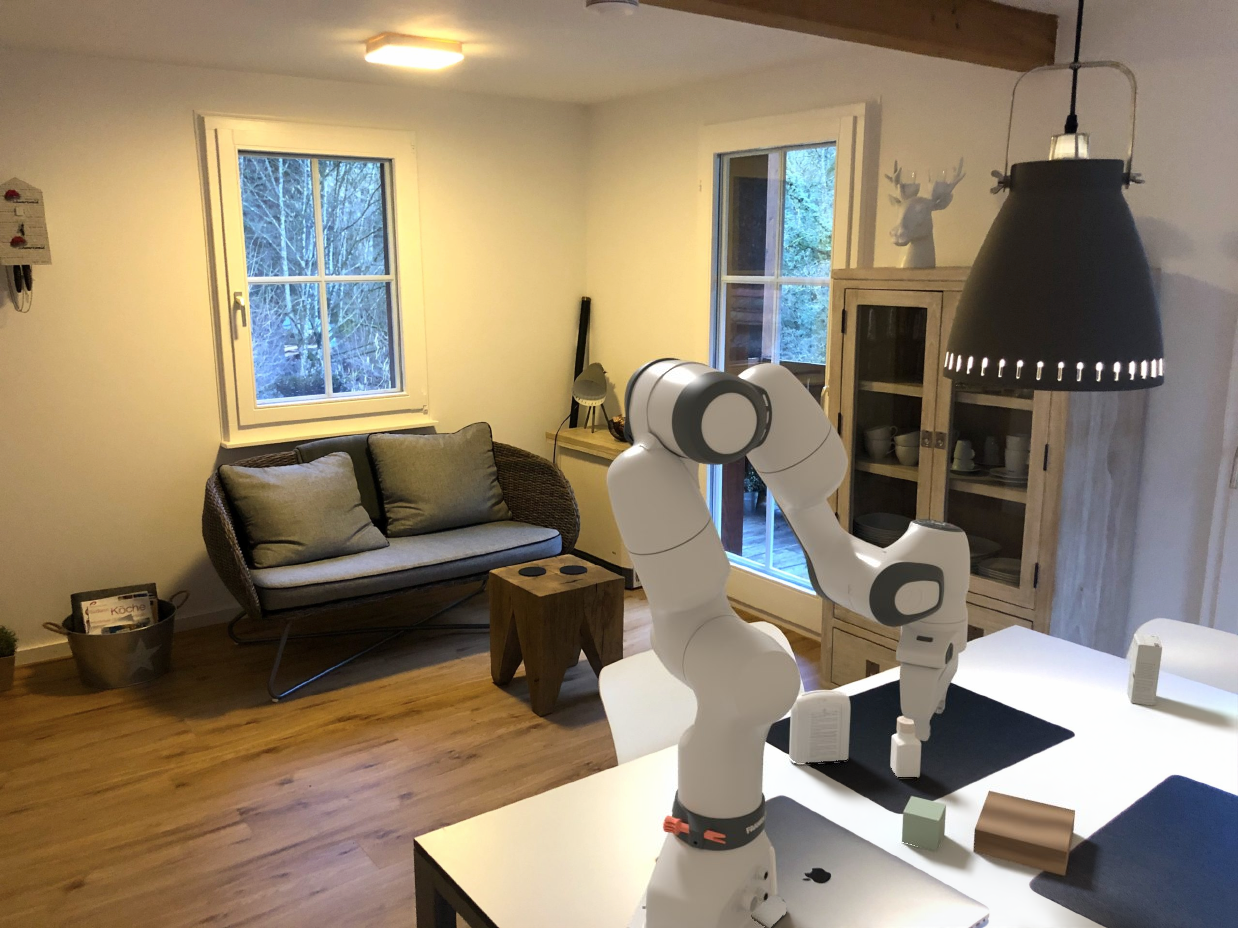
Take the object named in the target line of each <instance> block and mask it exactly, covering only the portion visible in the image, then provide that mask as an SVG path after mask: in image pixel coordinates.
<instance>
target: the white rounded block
mask: <svg viewBox="0 0 1238 928" xmlns="http://www.w3.org/2000/svg"><path fill="white" fill-rule="evenodd" d="M789 721H790V723H789V724H790V725H789V749H788V750H789V755H788V756H789V757H790V758H791V759H792V760H793V761H795V762H796V763H806V762H808V763H809V762H821V761H822V762H823V761H836V760H837V761H838V760H847V759H848V760H849V750H850V748H849V747H850V745H849V744H850V726H851V724H850V723H851V700H850V697H849V696H848V695H847V694H846V693H845V692H842V691H839V690H838V691H837V690H834V689H830V690H829V689H817V690H811V691H805V692H802V693H799V694H798V697H797V699H796V701H795V703H794V705H793V707H792V708H791V709H790V720H789ZM789 757H788V758H789ZM848 760H847V761H848Z"/></svg>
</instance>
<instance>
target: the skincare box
mask: <svg viewBox="0 0 1238 928" xmlns="http://www.w3.org/2000/svg"><path fill="white" fill-rule="evenodd" d="M1132 641H1133V642H1132V648H1131V658H1130V665H1129V667H1130V668H1129V674H1128V682H1127V689H1126V690H1127V696H1128V699H1129V702H1130V703H1132V704H1138V705H1143V706H1155V704H1156V699H1157V691H1158V682H1159V678H1160V677H1159V675H1160V670H1161V669H1160V668H1161V661H1162V654H1163V653H1162V652H1163V647H1162V644H1161V640H1160V639H1159V636H1158V635H1153V634H1152V635H1150V634H1139V633H1134V634H1133V640H1132Z"/></svg>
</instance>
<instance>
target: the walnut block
mask: <svg viewBox="0 0 1238 928" xmlns="http://www.w3.org/2000/svg"><path fill="white" fill-rule="evenodd" d="M1075 815H1076V809H1071V808H1065V807H1062V806H1061V807H1060V806H1058V805H1053V804H1049V803H1045V802H1039V801H1037V800H1032V799H1029V798H1028V799H1027V798H1023V797H1018V796H1013V795H1009V794H1005V793H1000V792H996V791H993V790H992V791H991V790H989V791H988V793H987V795H986V798H985V800H984V803H983V806H982V808H981V810H980V814H979V817H978V819H977V822H976V824H975V827H974V834H973V835H974V836H973V839H974V840H973V853H975V854H980V855H983V856H988V857H991V858H993V859H994V858H995V859H999V860H1003V861H1007V862H1009V863H1014V864H1018V865H1022V866H1025V867H1030V868H1033V869H1037V870H1040V871H1044V872H1048V873H1051V874H1056V875H1059V876H1066V872H1067V866H1068V862H1069V857H1070V851H1071V846H1072V841H1073V836H1074V828H1075V817H1076V816H1075Z"/></svg>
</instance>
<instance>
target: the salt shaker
mask: <svg viewBox="0 0 1238 928" xmlns="http://www.w3.org/2000/svg"><path fill="white" fill-rule="evenodd" d="M890 743H891V745H890V763H889V764H890V769H891V768H892V769H891V770H892V772H893V773H895V774H894V775H895V777H896V776H897V777H896V778H898V777H917V778H920V776H921V757H922V742H921V740H918V739H916V738H915V725H914V722H913V720H912V719H907V718H905V717H904V716H903V715H901V716H900V715H899V716H898V717H897V718H896V733H894V734H892V735H891V742H890Z"/></svg>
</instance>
